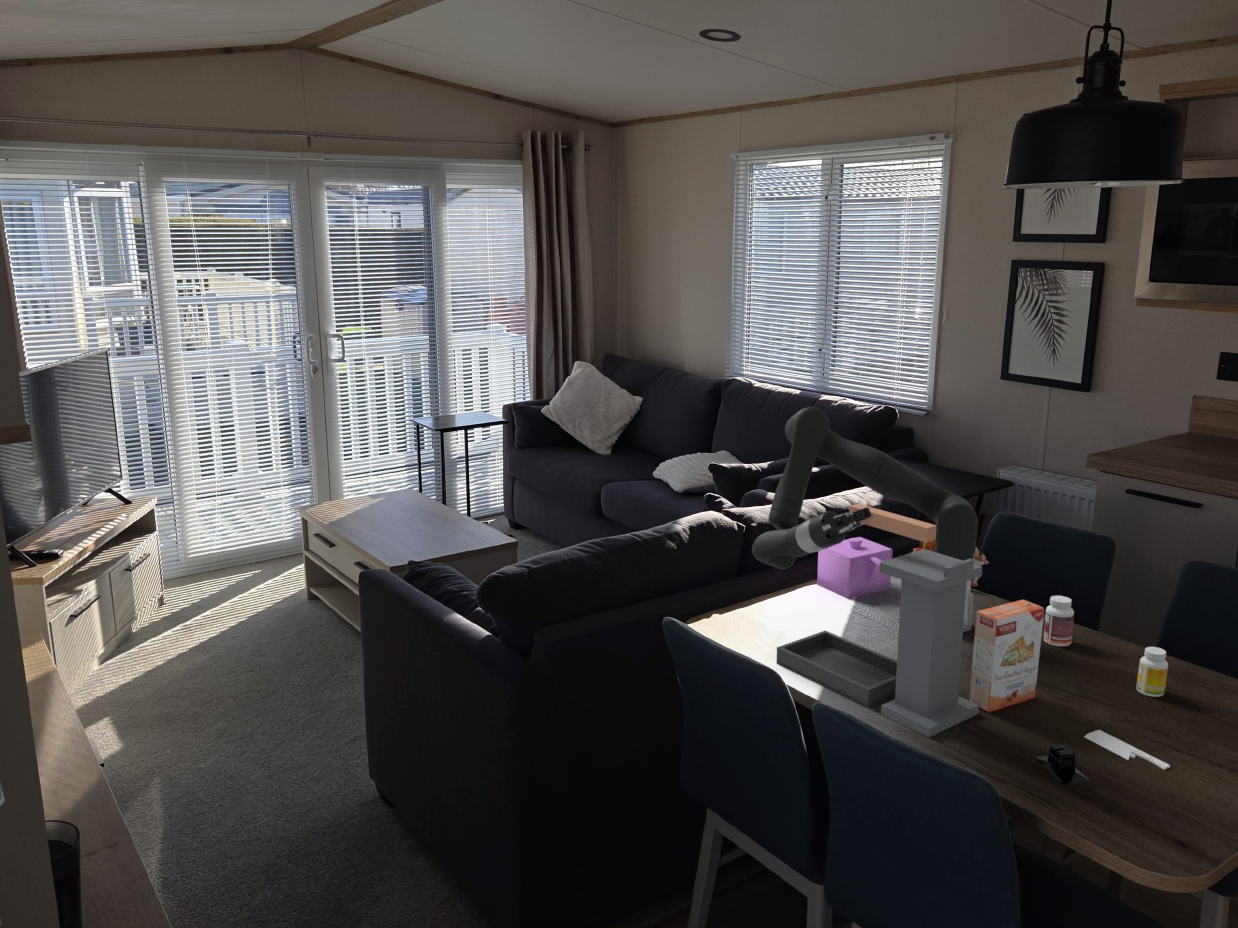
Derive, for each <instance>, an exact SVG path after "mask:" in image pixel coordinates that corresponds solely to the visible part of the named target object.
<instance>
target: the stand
mask: <svg viewBox="0 0 1238 928" xmlns="http://www.w3.org/2000/svg"><path fill="white" fill-rule="evenodd" d="M879 572H881V573H884V574H887V575H890V576H891V577H894V578H896V579H899V580H901V586H900V599H899V600H900V603H899V604H900V605H899V619H898V620H899V622H898V638H897V639H898V641H897V654H896V655H897V657H896V661H897V672H896V691H895V696H894V699H892V700H891V701H888V702H885V703H883V704H882V705H880V707H881V708H880V715H882V716H884V717H887V718H888V719H891V720H892V721H895V722H897V723H898V724H900V725H903V726H905V727H906V728H909V729H911V730H913V731H915V732H917V733H919V734H921V735H924V737H925V736H926V737H927V738H931V737H933V736H936V735H937V734H939V733H941V732H943V731H945V730H947V729H950V728H952V727H954V726H956V725H958V724H960V723H962V722H964V721H967V720H968V719H971V718H973V717H974V716H977V715H979V711H980V708H979V705H978V704H976V703H974V702H971V701H969V699H967V698H964V697H961V696H959V694H960V693H959V691H960V678H961V677H960V675H961V674H960V673H961V666H962V665H961V664H962V663H961V661H962V650H963V649H962V647H963V638H964V637H963V635H964V632H963V623H964V609H965V595H966V581H969V580H971V581H973V579H975V578H978V577H979V578H981V577H982V576H983V566H982V565H980V566H979V565H976V564H974V560H972V559H967V560H964V561H963V560H959V559H956V558H953V557H949V556H946V555H943V554H939V553H936V552H933V551H929V550H926V549H922V550H919V551H916V552H913V551H911V552H909V553H906V554H904V555H899V556H897V557H896V556H895V557H894V558H893V557H892V559H890V560H886V561H883V562H880V571H879ZM980 576H981V577H980ZM979 578H978V579H979Z"/></svg>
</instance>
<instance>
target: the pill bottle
mask: <svg viewBox="0 0 1238 928" xmlns="http://www.w3.org/2000/svg"><path fill="white" fill-rule="evenodd" d="M1072 601H1073V600H1072V599H1071V598H1070V597H1068V596H1063V595H1051V596H1050V599H1049V604H1050V605H1048V606H1047V607H1046V609H1045V615H1044V629H1043V630H1044V632H1043V641H1044V642H1045V643H1047V644H1048V645H1050V646H1055V647H1060V648H1061V647H1068V646H1070V645H1071V644H1072V639H1073V630H1074V619H1075V611H1074V609H1073V608H1072Z"/></svg>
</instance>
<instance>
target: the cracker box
mask: <svg viewBox="0 0 1238 928" xmlns="http://www.w3.org/2000/svg"><path fill="white" fill-rule="evenodd" d="M1044 619H1045V607H1043V606H1040V605H1038V604H1037V603H1033V602H1031V601H1028V600H1026V599H1020V600H1016V601H1013V602H1008V603H1003V604H1001V605H997V606H996V605H995V606H992V607H989V608H984V609H980V610H977V611H976V618H975V628H974V630H975V631H974V641H973V651H972V652H973V653H972V662H971V663H972V664H971V672H970V673H971V675H970V687H969V696H968V700H969V701H971V702H974V703H976V704H978V705H979V709H981V710H983V711H985V712H987V713H992V712H995V711H998V710H1002V709H1004V708H1007V707H1011V706H1013V705H1017V704H1020V703H1024V702H1026V701H1029V700H1032V699H1035V697H1036V689H1037V679H1038V669H1039V662H1040V661H1039V660H1040V655H1041V653H1040V652H1041V644H1042V642H1041V641H1042V634H1043V627H1044V626H1043V625H1044Z"/></svg>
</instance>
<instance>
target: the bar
mask: <svg viewBox="0 0 1238 928" xmlns="http://www.w3.org/2000/svg"><path fill="white" fill-rule="evenodd" d="M866 507H868V508H869V510H870V513H871V517H870V518H867V519H865V520H862V521H860V522H859V523H862V524H864V525H865V526H870V527H871V528H872V527H873V528H876V529H880V530H883V531H886V532H889V533H892V534H896V535H900V536H903V537H906V538H910V539H912V540H917V541H919V542H920V541H922V542H930V541H933V540H935V541H937V528H938V525H937V524H932V523H930V522H926V521H923V520H922V521H921V520H919V519H915V518H911V517H907V516H905V515H901V514H897V513H893V512H890V511H886V510H883V509H882V510H880V509H876V508H872V506H870V505H864V504H861V503H856V504H851V505H849V508H848V510H849V511H848V513H850V512H856V511H858V510H861V509H863V508H866Z"/></svg>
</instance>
